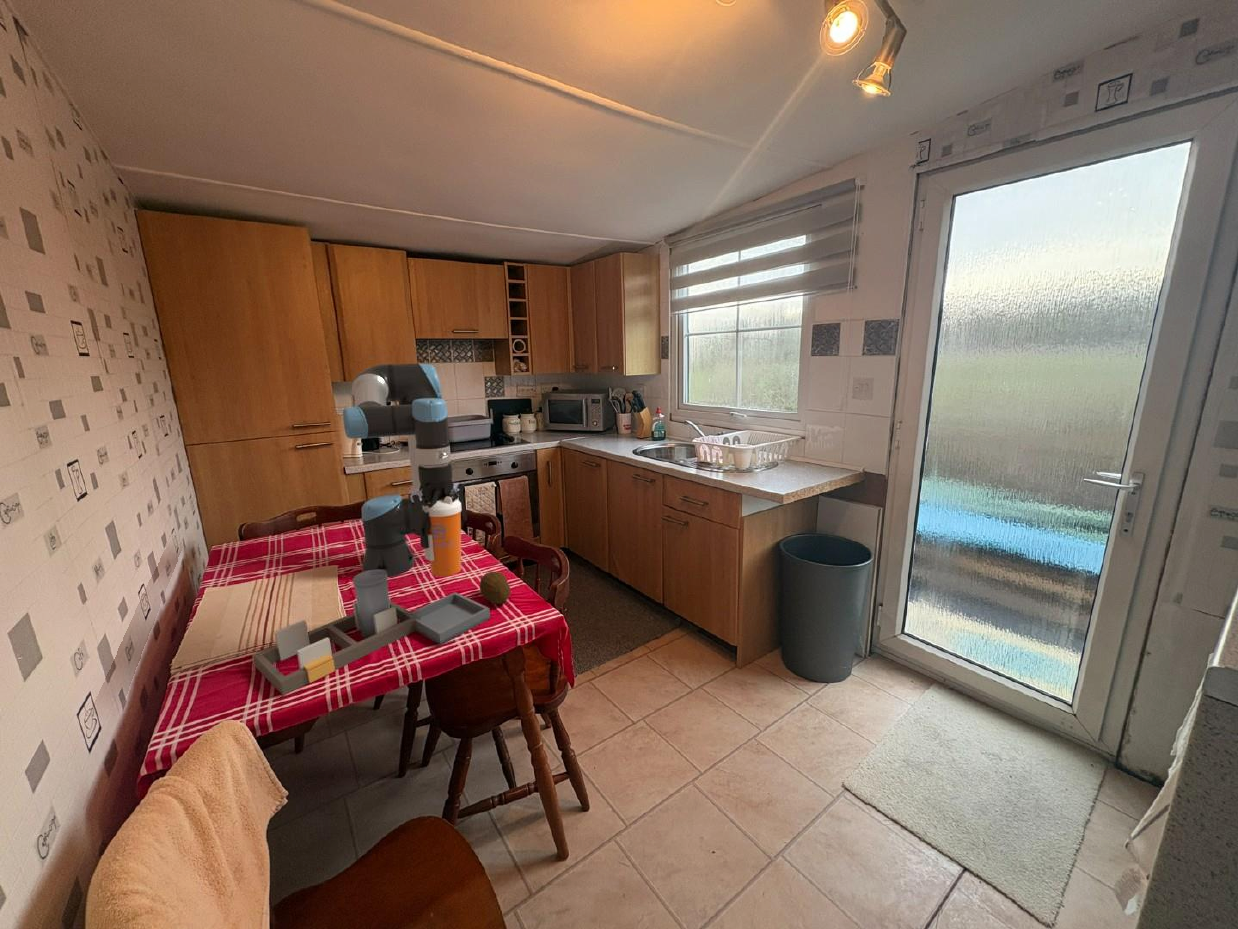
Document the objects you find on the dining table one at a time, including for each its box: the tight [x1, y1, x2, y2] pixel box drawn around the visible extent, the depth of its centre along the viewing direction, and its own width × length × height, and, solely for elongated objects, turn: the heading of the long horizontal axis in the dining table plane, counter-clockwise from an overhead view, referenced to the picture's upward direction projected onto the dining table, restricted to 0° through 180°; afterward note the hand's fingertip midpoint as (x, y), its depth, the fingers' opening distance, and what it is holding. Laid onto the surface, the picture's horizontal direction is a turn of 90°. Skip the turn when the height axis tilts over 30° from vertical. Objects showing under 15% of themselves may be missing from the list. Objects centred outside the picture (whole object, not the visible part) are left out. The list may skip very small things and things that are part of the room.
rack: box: [252, 599, 420, 696], centre depth 112 cm, size 16×30×7 cm, turn 144°
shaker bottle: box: [423, 491, 462, 578], centre depth 118 cm, size 9×9×20 cm
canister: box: [352, 569, 391, 639], centre depth 118 cm, size 7×7×15 cm
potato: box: [479, 571, 511, 605], centre depth 134 cm, size 8×12×8 cm, turn 42°
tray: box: [406, 591, 491, 646], centre depth 123 cm, size 15×15×3 cm
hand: (442, 554), depth 119 cm, fingers open, 6 cm apart
